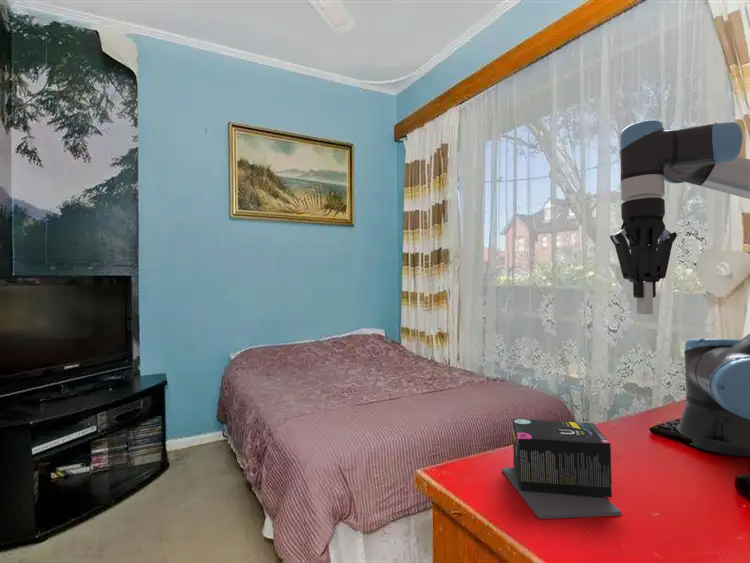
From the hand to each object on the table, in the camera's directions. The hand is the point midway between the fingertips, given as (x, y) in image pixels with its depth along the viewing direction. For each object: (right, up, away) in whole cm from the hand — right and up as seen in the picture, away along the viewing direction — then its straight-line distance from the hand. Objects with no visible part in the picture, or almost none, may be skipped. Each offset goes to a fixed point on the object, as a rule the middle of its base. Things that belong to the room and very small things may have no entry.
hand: (644, 313), depth 84 cm
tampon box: (-16, -24, -12) cm, 31 cm away
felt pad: (-24, -30, -13) cm, 41 cm away
